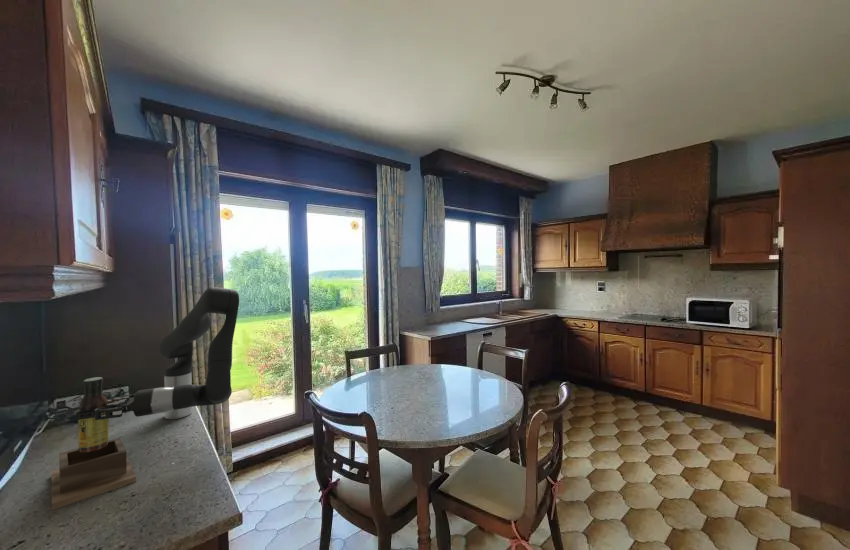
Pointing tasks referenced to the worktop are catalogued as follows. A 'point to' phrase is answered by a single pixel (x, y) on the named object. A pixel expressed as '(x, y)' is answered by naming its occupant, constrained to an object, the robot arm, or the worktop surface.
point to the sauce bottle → (91, 430)
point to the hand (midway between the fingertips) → (82, 411)
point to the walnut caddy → (90, 473)
